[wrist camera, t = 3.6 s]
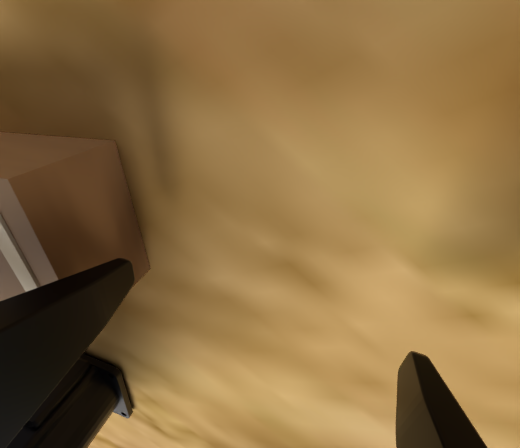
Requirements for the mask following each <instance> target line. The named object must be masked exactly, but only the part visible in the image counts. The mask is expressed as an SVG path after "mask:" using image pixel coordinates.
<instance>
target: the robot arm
mask: <svg viewBox="0 0 520 448" xmlns="http://www.w3.org/2000/svg"><path fill="white" fill-rule="evenodd" d="M134 281H135V276H134V270H133V265H132V262H131V261H130V260H127V259H123V258H117V259H114V260H111V261H109V262H106V263H103V264H100V265H98V266H95V267H92V268H90V269H87V270H84V271H81V272H79V273H76V274H73V275H70V276H68V277H65V278H62V279H60V280H57V281H54V282H51V283H49V284H46V285H43V286H40V287H38V288H35V289H32V290H30V291H27V292H24V293H21V294H19V295H16V296H13V297H10V298H8V299H5V300H2V301H0V448H88V446H89V445H90V443H91V442H92V441H93V439H94V438H95V436H96V435H97V433H98V432H99V431H100V429H101V428H102V426H103V425H104V424H105V422H106V421H107V419H108V418H109V417H110V415H111V414H112V412H114V413H117V414H119V415H121V416H123V417H125V418H129V417H130V416H131V414H132V413H133V411H132V407H131V404H130V401H129V398H128V394H127V391H126V388H125V384H124V381H123V378H122V374H121V372H120V371H119V370H118V369H117V368H116V367H114V366H111V365H109V364H107V363H104V362H102V361H99V360H97V359H95V358H92V357H90V356H87V355H85V354H83V353H84V351H85V350H86V349H87V348H88V347H89V345H90V344H91V343H92V342H93V340H94V339H95V338H96V337H97V336H98V334H99V333H100V332H101V331H102V329H103V328H104V327H105V326H106V324H107V323H108V322H109V320H110V319H111V317H112V316H113V314H114V313H115V311H116V310H117V308H118V307H119V305H120V304H121V302H122V301H123V299H124V298H125V296H126V295H127V293H128V292H129V290H130V289H131V287H132V286H133V284H134ZM396 447H397V448H487V446H486V445H485V443H484V442H483V440H482V439H481V437H480V435H479V434H478V432H477V431H476V429H475V428H474V426H473V425H472V423H471V422H470V420H469V419H468V417H467V416H466V414H465V413H464V411H463V410H462V408H461V406H460V405H459V403H458V402H457V400H456V399H455V397H454V396H453V394H452V393H451V391H450V390H449V388H448V387H447V385H446V384H445V382H444V381H443V379H442V377H441V376H440V374H439V373H438V371H437V370H436V368H435V367H434V365H433V364H432V362H431V361H430V359H429V358H428V357H427V356H426V355H423V354H420V353H417V352H414V351H411V352H409V353H408V355H407V356H406V358H405V360H404V361H403V363H402V364H401V366H400V368H399V371H398V381H397V407H396Z"/></svg>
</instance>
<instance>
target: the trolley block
mask: <svg viewBox="0 0 520 448" xmlns="http://www.w3.org/2000/svg"><path fill="white" fill-rule="evenodd" d="M117 258H123V259H127V260H130V261H131V262H132V265H133V270H134V276H135V281H134V284H133V286H134V285H135V284H136V283H137V282H138V281H139V280H140V279H141V278H142V277H143V276H144V275H145V274H146V273H147V272H148V271H149V270H150V265H149V262H148V258H147V255H146V251H145V247H144V244H143V240H142V237H141V233H140V229H139V226H138V222H137V219H136V215H135V211H134V208H133V204H132V201H131V197H130V193H129V190H128V186H127V182H126V179H125V175H124V172H123V168H122V164H121V161H120V157H119V154H118V150H117V146H116V143H115V140H102V139H88V138H75V137H62V136H48V135H35V134H22V133H8V132H0V301H2V300H5V299H8V298H10V297H13V296H16V295H19V294H21V293H24V292H27V291H30V290H32V289H35V288H38V287H40V286H43V285H46V284H49V283H51V282H54V281H57V280H60V279H62V278H65V277H68V276H70V275H73V274H76V273H79V272H81V271H84V270H87V269H90V268H92V267H95V266H98V265H100V264H103V263H106V262H109V261H111V260H114V259H117ZM133 286H132V287H133ZM132 287H131V288H132Z"/></svg>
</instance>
